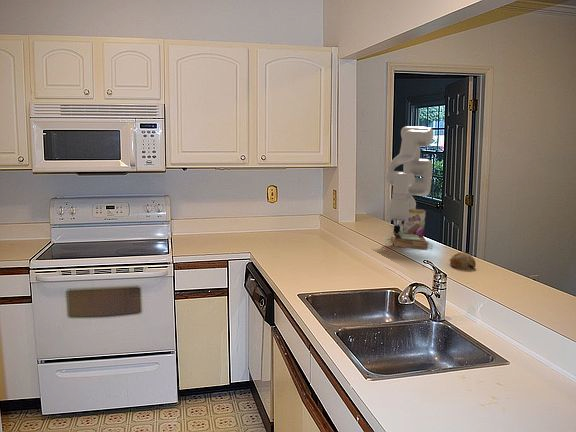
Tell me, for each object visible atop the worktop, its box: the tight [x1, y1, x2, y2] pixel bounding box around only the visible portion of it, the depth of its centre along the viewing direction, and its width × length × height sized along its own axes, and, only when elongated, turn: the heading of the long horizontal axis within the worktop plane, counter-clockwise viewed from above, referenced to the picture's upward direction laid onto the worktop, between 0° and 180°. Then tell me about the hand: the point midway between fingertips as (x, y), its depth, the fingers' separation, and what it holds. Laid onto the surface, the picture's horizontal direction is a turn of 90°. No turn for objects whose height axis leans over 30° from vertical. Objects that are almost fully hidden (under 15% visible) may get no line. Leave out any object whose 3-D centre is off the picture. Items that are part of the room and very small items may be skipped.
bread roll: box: [448, 252, 477, 270], centre depth 229 cm, size 10×10×8 cm
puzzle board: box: [391, 233, 429, 250], centre depth 274 cm, size 18×16×4 cm
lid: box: [398, 229, 421, 240], centre depth 273 cm, size 14×10×3 cm
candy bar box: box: [402, 208, 427, 237], centre depth 286 cm, size 11×5×16 cm, turn 84°
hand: (396, 233), depth 274 cm, fingers closed
